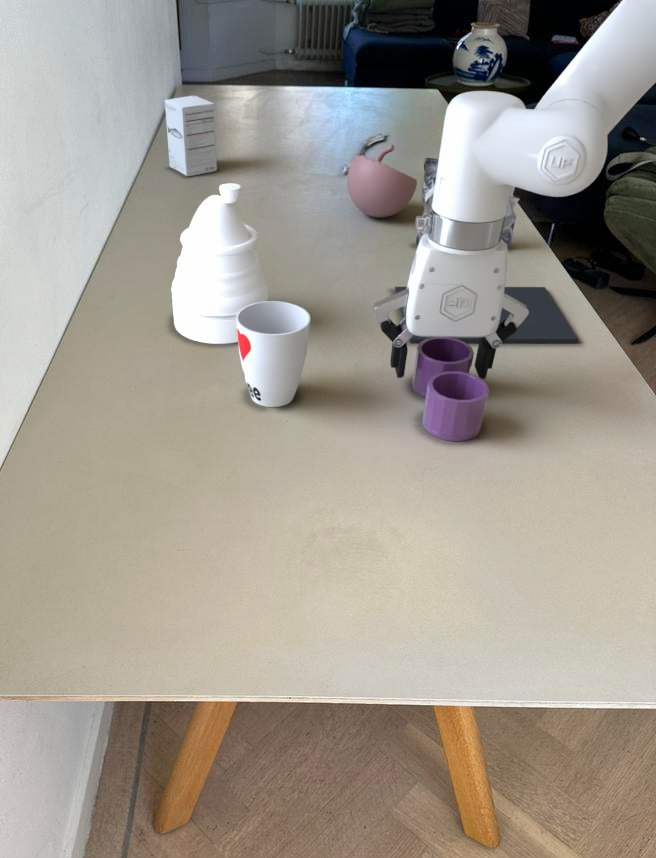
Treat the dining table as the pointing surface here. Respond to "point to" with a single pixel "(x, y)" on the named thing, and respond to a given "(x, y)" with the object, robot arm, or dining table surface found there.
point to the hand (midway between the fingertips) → (439, 372)
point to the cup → (272, 350)
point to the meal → (428, 193)
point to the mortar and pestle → (379, 185)
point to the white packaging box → (191, 135)
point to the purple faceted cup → (454, 405)
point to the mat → (527, 319)
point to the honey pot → (216, 271)
